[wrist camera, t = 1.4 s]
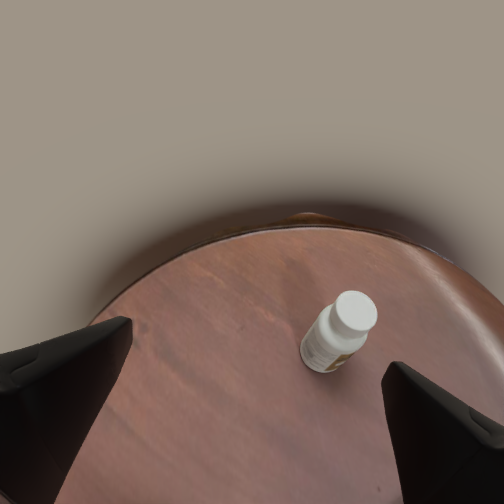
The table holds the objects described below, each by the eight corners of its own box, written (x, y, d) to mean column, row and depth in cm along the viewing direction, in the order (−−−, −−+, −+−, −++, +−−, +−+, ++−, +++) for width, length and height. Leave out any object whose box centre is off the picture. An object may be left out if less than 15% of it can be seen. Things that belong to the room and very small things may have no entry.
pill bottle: (332, 382, 23) (374, 347, 18) (290, 359, 25) (320, 317, 19) (349, 345, 26) (389, 302, 20) (311, 323, 27) (341, 275, 22)
